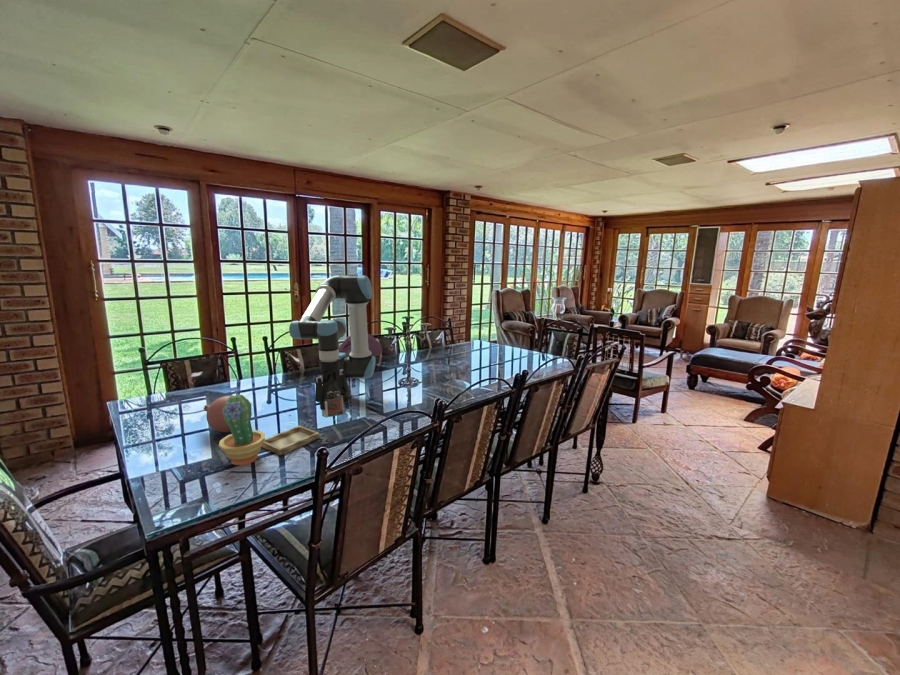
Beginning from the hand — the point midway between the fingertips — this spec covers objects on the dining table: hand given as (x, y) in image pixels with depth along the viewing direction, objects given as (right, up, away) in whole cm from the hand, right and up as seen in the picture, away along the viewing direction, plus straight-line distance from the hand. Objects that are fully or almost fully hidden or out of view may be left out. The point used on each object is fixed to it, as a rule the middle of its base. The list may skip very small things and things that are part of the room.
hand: (333, 413), depth 163 cm
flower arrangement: (-15, +9, +97) cm, 99 cm away
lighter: (0, -1, 0) cm, 1 cm away
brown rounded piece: (-49, -9, +9) cm, 51 cm away
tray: (-17, -11, -2) cm, 20 cm away
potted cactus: (-28, -14, -15) cm, 35 cm away
